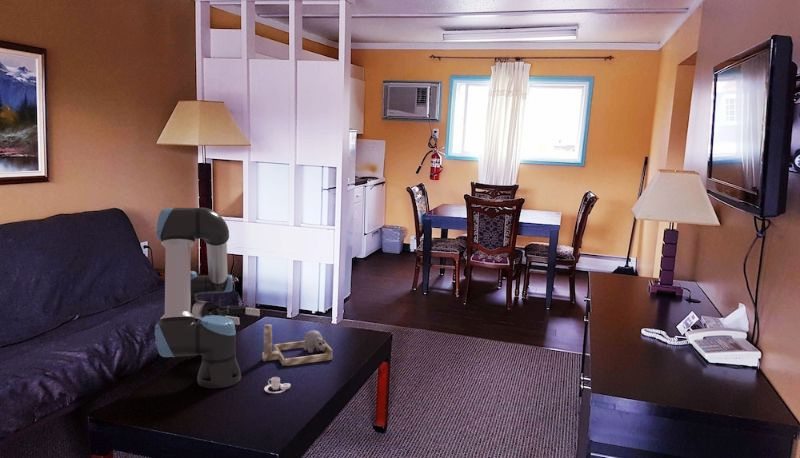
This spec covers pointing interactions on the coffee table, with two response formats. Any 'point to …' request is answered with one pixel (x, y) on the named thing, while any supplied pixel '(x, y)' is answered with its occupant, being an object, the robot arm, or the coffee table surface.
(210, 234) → the robot arm
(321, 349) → the chubby cartoon animal
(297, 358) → the pull frame
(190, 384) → the coffee table surface
